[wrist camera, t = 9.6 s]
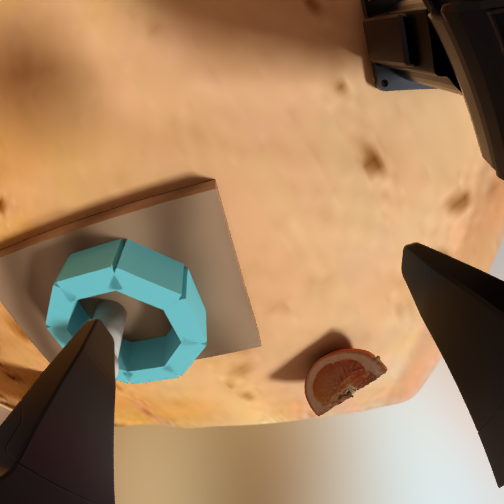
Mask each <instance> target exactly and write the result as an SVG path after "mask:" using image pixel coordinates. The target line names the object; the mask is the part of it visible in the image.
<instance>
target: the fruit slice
mask: <svg viewBox="0 0 504 504" xmlns="http://www.w3.org/2000/svg"><path fill="white" fill-rule="evenodd" d="M386 371H387V367H386V366H385V365H384V364H383V363H382V362H381V360H380V356H377V357H375V356H374V355H373V354H372V353H371V352H369V351H366V350H361V349H341V350H337V351H333V352H331V353H329V354H327V355H325V356H323V357H321V358H320V359H319V360H317V361H316V362H315V363H314V365H313V366H312V367H311V369H310V370H309V372H308V375H307V377H306V381H305V395H306V398H307V401H308V403H309V405H310V407H311V408H312V410H313V411H314V412H315V414H316V415H318V416H320V415H322V414H324V413H325V412H327V411H329V410H330V409H332V408H333V407H334V406H336V405H339V404H341V403H342V402H343V401H345V400H346V399H349V398H350V397H353V395H352V394H353V393H354V392H355V391H356V390H359V389H360V388H363V387H364V386H365V385H368V384H369V383H370V382H372V381H374V380H377V378H379V377H380V376H381V375H383V374H384V373H386Z"/></svg>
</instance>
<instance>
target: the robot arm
mask: <svg viewBox="0 0 504 504" xmlns="http://www.w3.org/2000/svg"><path fill="white" fill-rule="evenodd" d="M361 2H362V7H363V12H364V17H365V20H364V22H363V25H364V30H365V36H366V42H367V48H368V55H369V59H370V60H371V61H372V65H373V73H374V81H375V85H376V87H377V88H378V89H379V90H383V91H393V90H411V89H442V90H446V91H449V92H453V93H456V94H460V95H463V96H464V99H465V102H466V105H467V108H468V111H469V114H470V117H471V120H472V123H473V127H474V130H475V133H476V137H477V140H478V144H479V147H480V150H481V153H482V156H483V158H484V159H485V160H486V161H487V162H488V163H489V164H490V165H491V167H492V168H494V169H495V170H496V175H497V176H498V177H499V178H501V179H502V180H504V0H372V2H369V1H368V0H361ZM382 80H385V85H384V86H382V84H381V81H382ZM401 269H402V274H403V277H404V279H405V281H406V284H407V286H408V288H409V290H410V292H411V295H412V297H413V299H414V301H415V304H416V306H417V308H418V311H419V313H420V315H421V317H422V319H423V321H424V323H425V324H426V326H427V328H428V330H429V332H430V334H431V335H432V337H433V339H434V341H435V343H436V345H437V347H438V348H439V350H440V352H441V354H442V356H443V358H444V360H445V362H446V364H447V366H448V368H449V370H450V372H451V374H452V376H453V378H454V380H455V382H456V384H457V386H458V388H459V390H460V393H461V395H462V397H463V399H464V401H465V404H466V406H467V408H468V410H469V413H470V415H471V417H472V419H473V422H474V424H475V426H476V429H477V431H478V434H479V436H480V439H481V442H482V444H483V446H484V449H485V452H486V454H487V457H488V460H489V462H490V465H491V468H492V471H493V473H494V476H495V479H496V482H497V485H498V487H499V488H500V487H502V486H504V281H502V280H500V279H498V278H496V277H494V276H491V275H490V274H487V273H485V272H483V271H481V270H479V269H477V268H475V267H472V266H470V265H468V264H466V263H464V262H461V261H459V260H457V259H455V258H452V257H450V256H448V255H446V254H443V253H441V252H439V251H436V250H434V249H432V248H429V247H427V246H425V245H422V244H420V243H417V242H415V243H411V244H408V245H406V246H404V248H403V257H402V267H401ZM115 388H116V386H115V343H114V339H113V337H112V335H111V333H110V332H109V331H108V329H107V328H106V326H105V325H104V323H103V322H102V321H101V320H100V319H92V320H88V321H87V322H86V323H85V324H84V325H83V326H82V327H81V328H80V329H79V330H78V332H77V333H76V334H75V335H74V336H73V337H72V338H71V340H70V341H69V342H68V343H67V344H66V345H65V347H64V348H63V349H62V350H61V351H60V352H59V354H58V355H57V356H56V357H55V358H54V359H53V361H52V362H51V363H50V364H49V365H48V367H47V368H46V369H45V370H44V372H43V373H42V374H41V375H40V376H39V378H38V379H37V380H36V381H35V383H34V384H33V385H32V386H31V388H30V389H29V390H28V391H27V393H26V394H25V395H24V396H23V398H22V399H21V401H19V403H18V404H17V405H16V407H15V408H14V409H13V411H12V412H11V413H10V414H9V416H8V417H7V418H6V420H5V421H4V422H3V423H2V424H1V426H0V504H115V496H114V459H113V458H114V457H113V454H114V452H113V451H114V450H113V449H114V409H115Z"/></svg>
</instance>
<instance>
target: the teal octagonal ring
mask: <svg viewBox="0 0 504 504" xmlns="http://www.w3.org/2000/svg"><path fill="white" fill-rule="evenodd" d="M112 291H118V292H120V293H123V294H125V295H128V296H130V297H132V298H135V299H137V300H140V301H142V302H145V303H147V304H150V305H152V306H155V307H157V308H160V309H162V310H164V312H165V314H166V316H167V317H168V319H169V321H170V323H171V325H172V326H173V327H172V328H171V330H170V331H169V333H168V334H167V336H163V337H158V338H153V339H147V340H142V341H136V342H130V341H128V340H125V339H122V340H121V345H120V350H119V355H118V363H119V372H118V375H117V377H116V380H119V381H122V382H125V383H128V382H129V381H130V382H131V383H132V384H136V383H144V382H151V381H158V380H165V379H171V378H178V377H179V375H181V376H182V375H183V374H184V373H185V371H186V370H187V369H188V368H189V367H190V365H191V364H192V363H193V362H194V360H195V359H196V358H197V357H198V355H199V354H200V353H201V352H202V351H203V349H204V348H205V347H206V342H207V330H206V310H205V307H204V305H203V303H202V300H201V298H200V296H199V293H198V291H197V289H196V286H195V284H194V281H193V279H192V277H191V274H190V272H189V269H188V268H184V264H183V263H180V262H178V261H176V260H174V259H171V258H169V257H167V256H164V255H162V254H160V253H158V252H155V251H153V250H151V249H149V248H147V247H144V246H142V245H140V244H138V243H135V242H133V241H131V240H129V239H127V241H126V243H125V244H124V242H123V240H122V238H121V239H118V240H115V241H111V242H108V243H105V244H101V245H98V246H95V247H92V248H88V249H85V250H82V251H79V252H76V253H72V254H71V255H70V257H68V258H67V260H66V262H65V264H64V266H63V268H62V269H61V271H60V273H59V275H58V277H57V279H56V281H55V283H54V284H53V288H52V293H51V298H50V303H49V308H48V313H47V319H46V325H48V326H47V329H48V330H49V332H50V333H51V334H52V335H53V337H54V338H55V339H56V340H57V342H58V343H59V344H60V345H61V347H62V348H64V347H65V345H66V344H67V343H68V342H69V341H70V340H71V338H72V337H73V336H74V335H75V334H76V333H77V332H78V330H79V329H80V328H81V327H82V326H83V325H84V324H85V323H86V322H87V321H88V320H91V319H90V318H89V316H88V315H87V313H86V312H85V310H84V309H83V307H82V306H81V304H80V303H79V301H78V300H79V299H83V298H87V297H91V296H95V295H99V294H104V293H108V292H112Z"/></svg>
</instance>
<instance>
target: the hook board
mask: <svg viewBox="0 0 504 504" xmlns="http://www.w3.org/2000/svg"><path fill="white" fill-rule="evenodd" d="M121 238H122V240H123V242H124V244H125V243H126V241H127V239H129V240H131V241H133V242H135V243H138V244H140V245H142V246H144V247H147V248H149V249H151V250H153V251H155V252H158V253H160V254H162V255H164V256H167V257H169V258H171V259H174V260H176V261H178V262H180V263H183V264H184V268H188V269H189V272H190V274H191V277H192V279H193V281H194V284H195V286H196V289H197V291H198V293H199V296H200V298H201V300H202V303H203V305H204V307H205V310H206V330H207V342H206V347H205V348H204V349H203V351H202V352H201V353H200V354H199V355H198V357H197V358H196V359H202V358H207V357H212V356H217V355H222V354H227V353H232V352H237V351H241V350H246V349H251V348H255V347H259V346H261V341H260V336H259V331H258V328H257V325H256V321H255V318H254V314H253V311H252V307H251V304H250V301H249V297H248V294H247V290H246V287H245V283H244V280H243V276H242V273H241V269H240V266H239V262H238V259H237V255H236V252H235V248H234V245H233V241H232V238H231V234H230V231H229V227H228V224H227V220H226V217H225V213H224V209H223V206H222V202H221V199H220V195H219V191H218V188H217V184H216V181H215V180H211V181H207V182H204V183H200V184H196V185H192V186H189V187H185V188H181V189H178V190H174V191H171V192H167V193H164V194H160V195H157V196H153V197H150V198H147V199H143V200H140V201H137V202H133V203H130V204H127V205H124V206H121V207H117V208H114V209H111V210H108V211H105V212H102V213H99V214H96V215H93V216H90V217H87V218H84V219H81V220H78V221H75V222H73V223H70V224H67V225H64V226H61V227H59V228H56V229H53V230H50V231H48V232H45V233H42V234H40V235H37V236H34V237H32V238H29V239H27V240H24V241H22V242H19V243H17V244H14V245H12V246H9V247H7V248H4V249H2V250H0V301H1V302H2V304H3V305H4V307H5V308H6V309H7V311H8V312H9V313H10V315H11V316H12V317H13V319H14V320H15V321H16V323H17V324H18V325H19V327H20V328H21V329H22V330H23V332H24V333H25V334H26V335H27V337H28V338H29V339H30V340H31V342H32V343H33V344H34V345H35V346H36V347H37V349H38V350H39V351H40V352H41V353H42V354H43V356H44V357H45V358H46V359H47V360H48V361H49V362H50V363H51V362H52V361H53V359H54V358H55V357H56V356H57V355H58V354H59V352H60V351H61V350H62V349H63V348H62V347H61V345H60V344H59V343H58V342H57V340H56V339H55V338H54V337H53V335H52V334H51V333H50V332H49V330H48V329H47V326H48V325H46V319H47V313H48V308H49V303H50V298H51V293H52V288H53V284H54V283H55V281H56V279H57V277H58V275H59V273H60V271H61V269H62V268H63V266H64V264H65V262H66V260H67V258H68V257H70V255H71V254H72V253H76V252H79V251H82V250H85V249H88V248H92V247H95V246H98V245H101V244H105V243H108V242H111V241H115V240H118V239H121ZM78 301H79V303H80V304H81V306H82V307H83V309H84V310H85V312H86V313H87V315H88V316H89V318H90V319H91V320H92V319H100V320H101V321H102V322H103V323H104V325H105V326H106V328H107V329H108V331H109V332H110V333H111V335H112V337H113V339H114V343H115V379H116V377H117V375H118V372H119V363H118V355H119V350H120V345H121V340H122V339H125V340H128V341H130V342H136V341H142V340H147V339H153V338H158V337H163V336H167V334H168V333H169V331H170V330H171V328H172V327H173V326H172V325H171V323H170V321H169V319H168V317H167V316H166V314H165V312H164V310H162V309H160V308H157V307H155V306H152V305H150V304H147V303H145V302H142V301H140V300H137V299H135V298H132V297H130V296H128V295H125V294H123V293H120V292H118V291H112V292H108V293H104V294H99V295H95V296H91V297H87V298H83V299H79V300H78ZM196 359H195V360H196Z"/></svg>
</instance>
